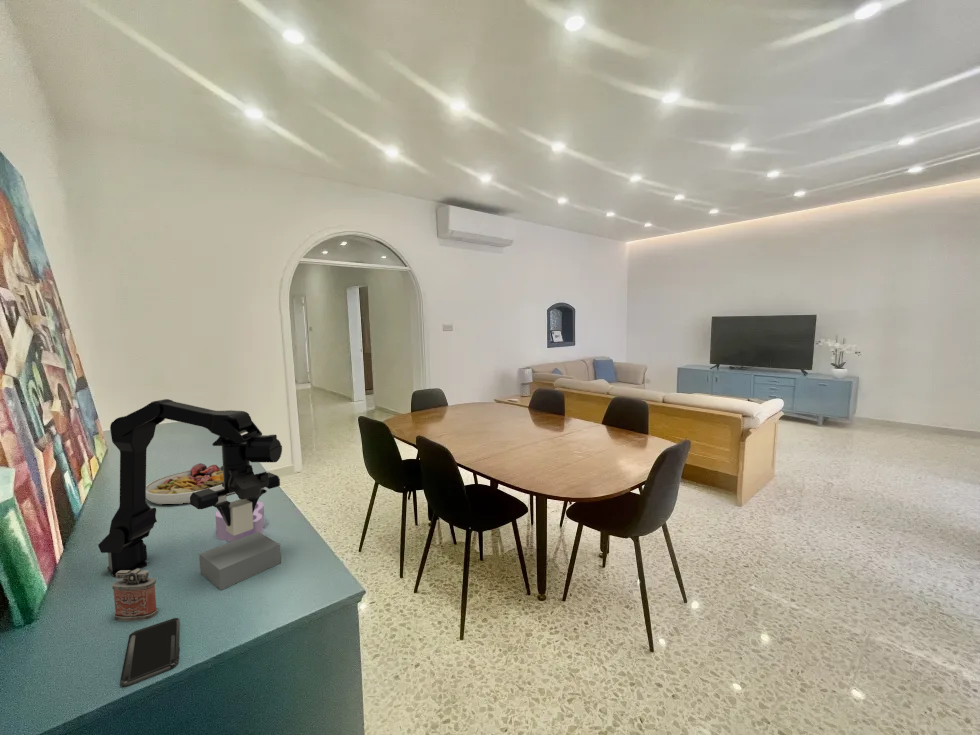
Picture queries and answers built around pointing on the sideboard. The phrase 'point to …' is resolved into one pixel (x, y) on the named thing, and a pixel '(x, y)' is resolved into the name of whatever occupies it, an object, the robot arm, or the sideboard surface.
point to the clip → (257, 527)
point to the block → (240, 517)
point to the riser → (239, 559)
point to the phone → (151, 652)
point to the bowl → (184, 484)
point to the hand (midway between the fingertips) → (239, 522)
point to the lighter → (134, 596)
